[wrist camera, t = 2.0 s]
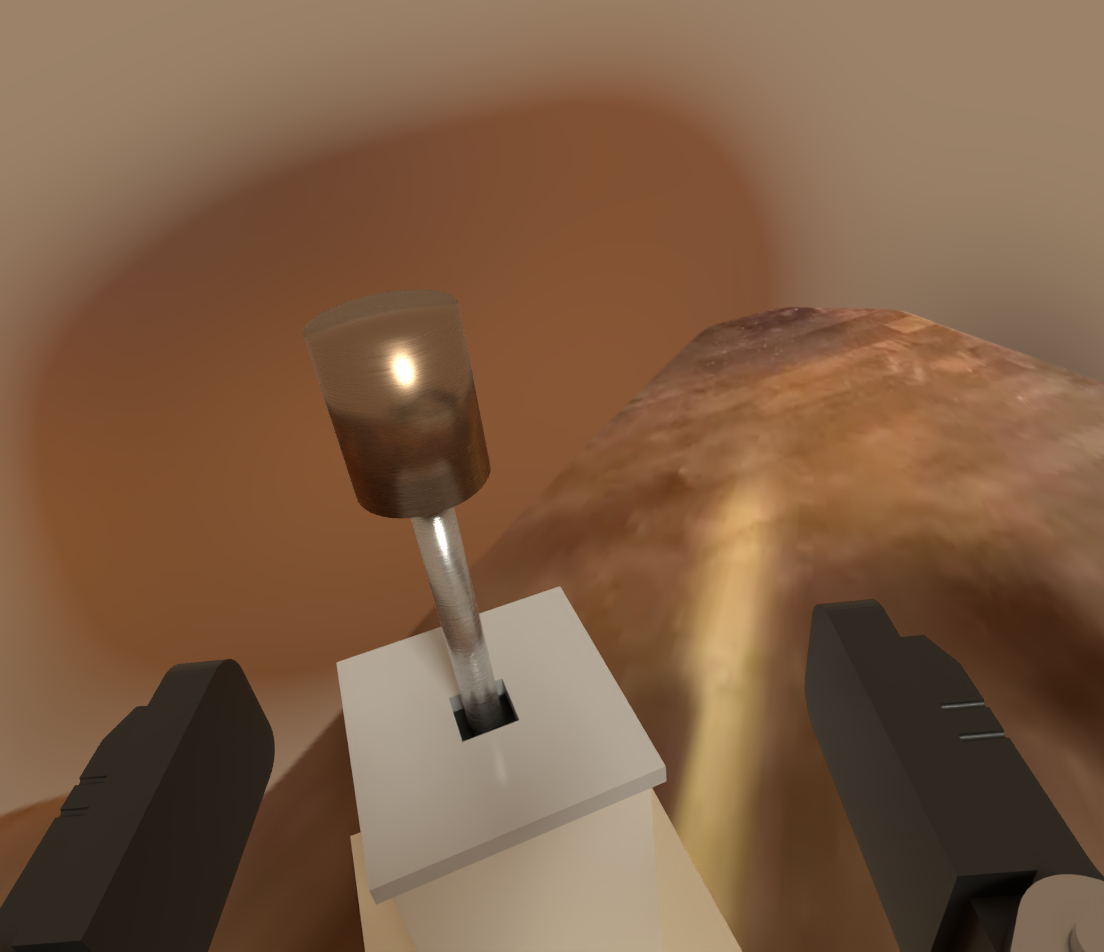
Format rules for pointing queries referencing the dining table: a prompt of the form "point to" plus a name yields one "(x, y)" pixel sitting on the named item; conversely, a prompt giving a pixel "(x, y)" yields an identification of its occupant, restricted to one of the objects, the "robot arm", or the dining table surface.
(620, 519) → the dining table surface
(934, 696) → the robot arm
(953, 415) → the dining table surface
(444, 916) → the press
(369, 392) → the plunger
